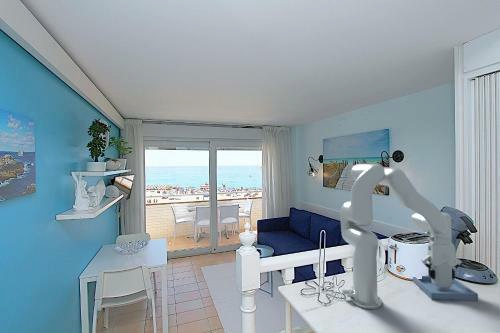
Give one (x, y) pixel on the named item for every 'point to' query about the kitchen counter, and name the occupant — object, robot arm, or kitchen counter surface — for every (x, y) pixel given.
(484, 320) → the kitchen counter surface
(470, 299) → the tray
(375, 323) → the kitchen counter surface
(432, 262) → the robot arm
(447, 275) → the can
